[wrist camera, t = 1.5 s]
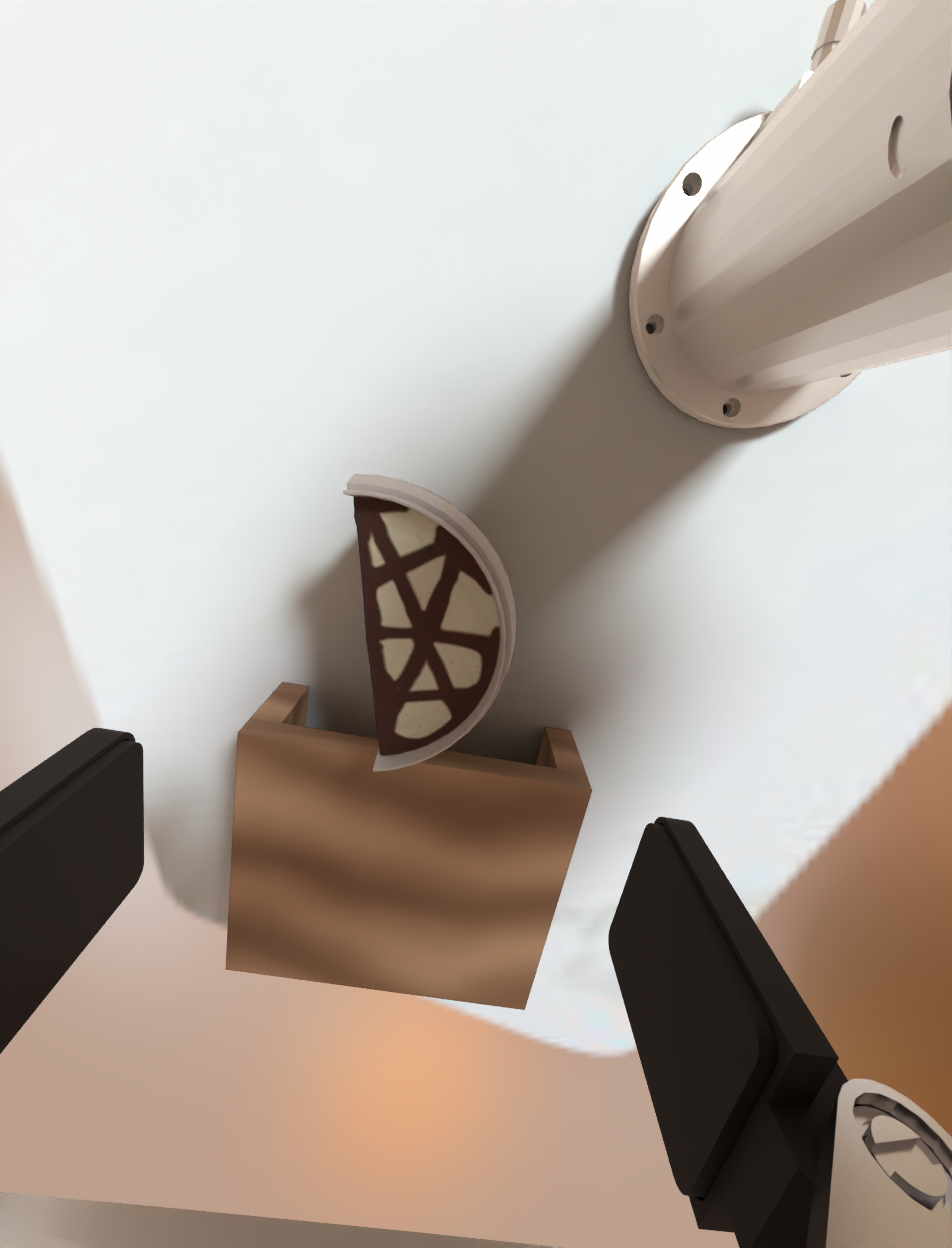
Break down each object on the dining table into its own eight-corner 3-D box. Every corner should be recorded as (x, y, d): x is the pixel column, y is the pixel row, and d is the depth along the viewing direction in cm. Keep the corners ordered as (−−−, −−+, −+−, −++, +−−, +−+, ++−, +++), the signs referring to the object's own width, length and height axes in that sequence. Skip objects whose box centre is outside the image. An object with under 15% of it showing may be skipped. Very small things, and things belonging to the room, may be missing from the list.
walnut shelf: (282, 682, 30) (238, 732, 25) (570, 731, 31) (592, 790, 26) (266, 887, 35) (225, 969, 30) (516, 923, 36) (524, 1009, 31)
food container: (506, 680, 30) (521, 779, 21) (405, 682, 30) (374, 782, 21) (504, 467, 27) (521, 470, 17) (388, 470, 27) (341, 475, 17)
